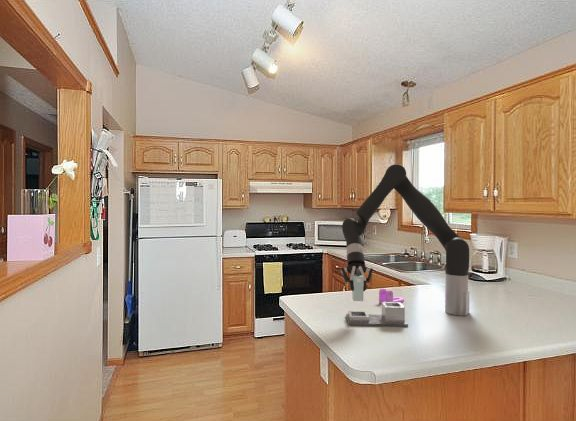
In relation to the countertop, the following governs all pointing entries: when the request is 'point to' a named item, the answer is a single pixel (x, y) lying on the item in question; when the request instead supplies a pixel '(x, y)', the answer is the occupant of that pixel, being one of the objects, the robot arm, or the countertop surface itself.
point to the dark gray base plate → (380, 316)
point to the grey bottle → (358, 286)
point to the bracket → (388, 296)
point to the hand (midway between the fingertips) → (358, 290)
